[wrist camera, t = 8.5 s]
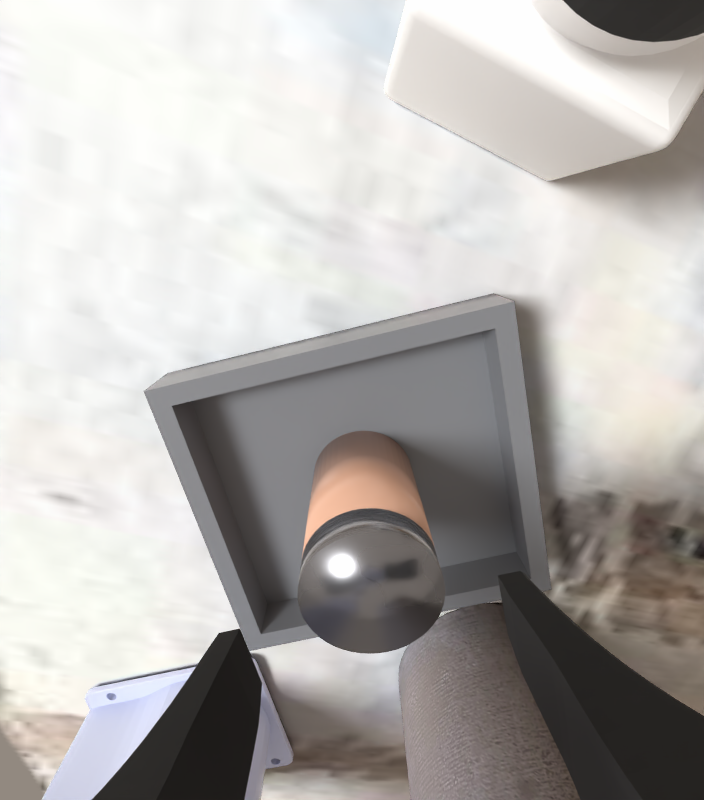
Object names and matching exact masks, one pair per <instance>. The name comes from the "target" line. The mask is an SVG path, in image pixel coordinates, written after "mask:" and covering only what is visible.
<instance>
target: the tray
mask: <svg viewBox="0 0 704 800" xmlns="http://www.w3.org/2000/svg"><path fill="white" fill-rule="evenodd" d="M144 393H145V396H146V398H147V401H148V403H149V405H150V408H151V410H152V413H153V415H154V418H155V420H156V423H157V425H158V428H159V430H160V432H161V435H162V437H163V440H164V442H165V445H166V447H167V450H168V452H169V455H170V457H171V459H172V462H173V464H174V467H175V469H176V472H177V474H178V477H179V479H180V482H181V484H182V487H183V489H184V491H185V494H186V496H187V499H188V501H189V504H190V506H191V509H192V511H193V514H194V516H195V518H196V521H197V523H198V526H199V528H200V531H201V533H202V536H203V538H204V541H205V543H206V545H207V548H208V550H209V553H210V555H211V558H212V560H213V563H214V565H215V568H216V570H217V572H218V575H219V577H220V580H221V582H222V585H223V587H224V590H225V592H226V595H227V597H228V600H229V602H230V604H231V607H232V609H233V612H234V614H235V617H236V619H237V622H238V624H239V627H240V629H241V631H242V634H243V636H244V639H245V641H246V644H247V646H248V649H249V651H252V650H257V649H261V648H266V647H271V646H276V645H281V644H286V643H291V642H296V641H301V640H306V639H310V638H315V637H319V636H318V635H317V634H315V633H314V632H313V631H312V630H311V628H310V627H309V626H308V625H307V623H306V622H305V620H304V618H303V616H302V614H301V612H300V608H299V605H298V597H297V594H298V583H299V576H300V569H301V561H302V554H303V547H304V540H305V532H306V525H307V518H308V511H309V503H310V496H311V489H312V482H313V474H314V468H315V464H316V461H317V459H318V457H319V455H320V453H321V452H322V450H323V449H324V448H325V447H326V446H327V445H328V444H329V443H330V442H331V441H333V440H334V439H336V438H337V437H339V436H342V435H344V434H347V433H350V432H355V431H372V432H377V433H380V434H383V435H385V436H388V437H390V438H391V439H393V440H394V441H395V442H397V443H398V444H399V445H400V446H401V447H402V448H403V449H404V451H405V452H406V454H407V456H408V458H409V460H410V463H411V467H412V470H413V474H414V477H415V481H416V484H417V488H418V491H419V495H420V498H421V502H422V505H423V509H424V512H425V515H426V519H427V522H428V526H429V529H430V533H431V536H432V540H433V543H434V547H435V550H436V554H437V557H438V561H439V564H440V568H441V571H442V575H443V578H444V583H445V600H444V605H443V608H442V611H441V612H443V611H448V610H453V609H458V608H463V607H468V606H472V605H477V604H482V603H487V602H492V601H497V600H502V598H501V592H500V587H499V581H498V575H502V574H507V573H512V572H517V571H521V572H523V573H525V574H526V575H527V577H528V578H529V579H530V580H531V581H532V582H533V583H534V584H535V585H536V586H537V587H538V588H539V589H540V590H541V591H546V590H551V583H550V575H549V567H548V559H547V551H546V544H545V536H544V528H543V520H542V513H541V505H540V497H539V489H538V481H537V474H536V466H535V458H534V450H533V443H532V435H531V427H530V419H529V411H528V404H527V396H526V388H525V380H524V373H523V365H522V357H521V349H520V341H519V334H518V326H517V318H516V310H515V303H514V301H512V300H509V299H507V298H504V297H501V296H499V295H496V294H490V295H485V296H481V297H477V298H473V299H469V300H465V301H461V302H457V303H453V304H449V305H445V306H440V307H436V308H432V309H428V310H424V311H420V312H416V313H412V314H408V315H404V316H400V317H395V318H391V319H387V320H383V321H379V322H375V323H371V324H367V325H363V326H359V327H355V328H350V329H346V330H342V331H338V332H334V333H330V334H326V335H322V336H318V337H314V338H310V339H305V340H301V341H297V342H293V343H289V344H285V345H281V346H277V347H273V348H269V349H265V350H260V351H256V352H252V353H248V354H244V355H240V356H236V357H232V358H228V359H224V360H220V361H215V362H211V363H207V364H203V365H199V366H195V367H191V368H187V369H183V370H179V371H175V372H171V373H167V374H166V375H164V376H163V377H162V378H160V379H159V380H158V381H157V382H155V383H154V384H153V385H151V386H150V387H149V388H147V389H146V390H145V391H144Z"/></svg>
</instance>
